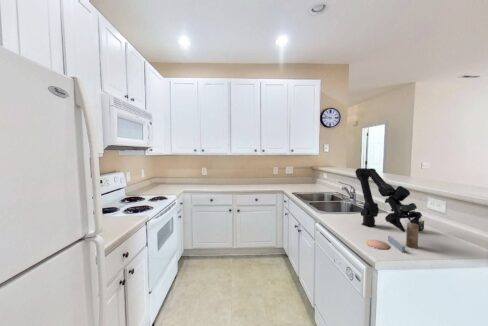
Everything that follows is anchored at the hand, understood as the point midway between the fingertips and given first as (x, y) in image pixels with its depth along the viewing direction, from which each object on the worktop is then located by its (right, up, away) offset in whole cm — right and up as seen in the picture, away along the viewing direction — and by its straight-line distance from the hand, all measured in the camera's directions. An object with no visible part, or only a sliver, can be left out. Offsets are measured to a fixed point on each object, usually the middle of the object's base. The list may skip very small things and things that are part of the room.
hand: (412, 231), depth 122 cm
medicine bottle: (+18, -7, +24) cm, 31 cm away
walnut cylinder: (0, -8, 0) cm, 8 cm away
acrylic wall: (-9, -8, 0) cm, 12 cm away
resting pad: (-17, -8, +2) cm, 19 cm away
